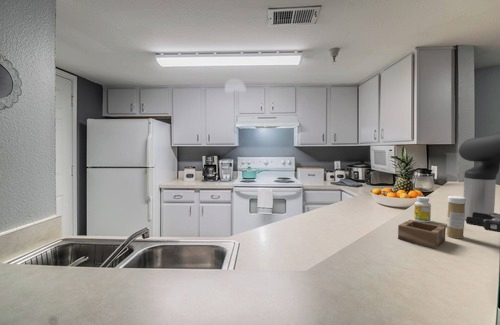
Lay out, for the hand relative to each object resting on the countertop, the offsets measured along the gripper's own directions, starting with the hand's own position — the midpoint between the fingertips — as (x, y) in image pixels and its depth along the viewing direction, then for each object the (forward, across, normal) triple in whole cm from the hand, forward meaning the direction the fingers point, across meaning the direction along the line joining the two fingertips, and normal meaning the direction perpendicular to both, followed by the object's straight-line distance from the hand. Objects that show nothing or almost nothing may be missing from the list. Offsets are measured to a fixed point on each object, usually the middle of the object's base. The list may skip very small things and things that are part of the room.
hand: (469, 217), depth 78 cm
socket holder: (+10, +12, +7) cm, 17 cm away
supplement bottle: (+16, -12, +8) cm, 22 cm away
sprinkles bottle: (+3, 0, +7) cm, 8 cm away
